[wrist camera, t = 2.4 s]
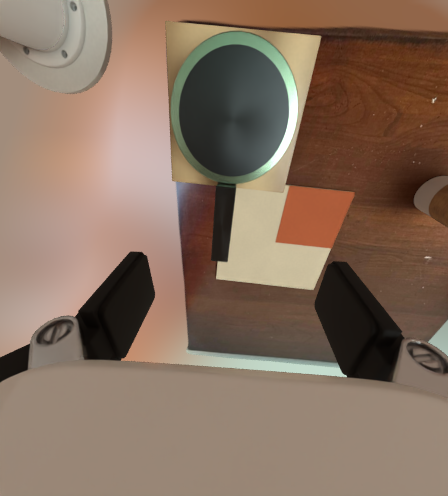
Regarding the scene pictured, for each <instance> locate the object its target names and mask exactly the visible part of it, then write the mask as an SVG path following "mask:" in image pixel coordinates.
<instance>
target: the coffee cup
mask: <svg viewBox="0 0 448 496" xmlns="http://www.w3.org/2000/svg"><path fill="white" fill-rule="evenodd" d="M414 205H415V207H416V208H417V209H419V210H420V211H422V212H424V213H425V214H427V215H429V216H431V217H432V218H433V219H435V220H437V221H438V222H440V223H441V224H443V225H445V226H446V227H448V176H438V177H435V178H432V179H430V180H428V181H427V182H425V183H424V184H423V185H422V186H421V187H420V188H419V189H418V191H417V192H416V194H415V196H414Z"/></svg>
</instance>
